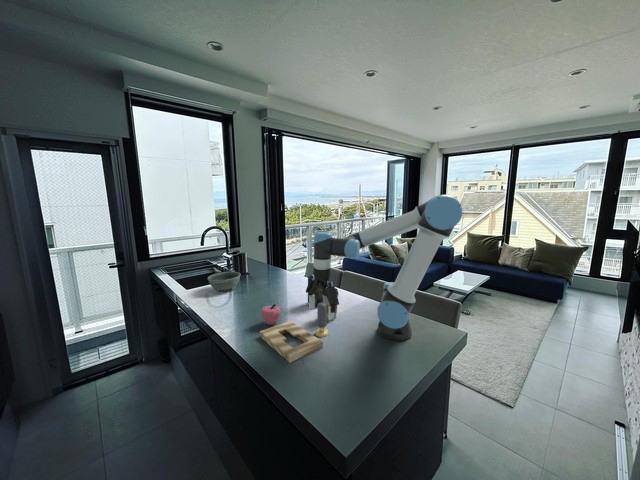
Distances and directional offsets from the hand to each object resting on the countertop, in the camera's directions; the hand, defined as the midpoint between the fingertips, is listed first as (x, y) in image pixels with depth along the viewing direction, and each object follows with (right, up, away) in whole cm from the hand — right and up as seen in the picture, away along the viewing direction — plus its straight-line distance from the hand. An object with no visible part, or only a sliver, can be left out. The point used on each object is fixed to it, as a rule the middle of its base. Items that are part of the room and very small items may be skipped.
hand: (321, 313), depth 117 cm
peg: (0, -9, +1) cm, 10 cm away
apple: (-24, -8, +11) cm, 28 cm away
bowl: (-64, -1, +59) cm, 87 cm away
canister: (-3, -5, +35) cm, 35 cm away
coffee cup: (+5, -7, +18) cm, 20 cm away
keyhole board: (-13, -10, -6) cm, 18 cm away
